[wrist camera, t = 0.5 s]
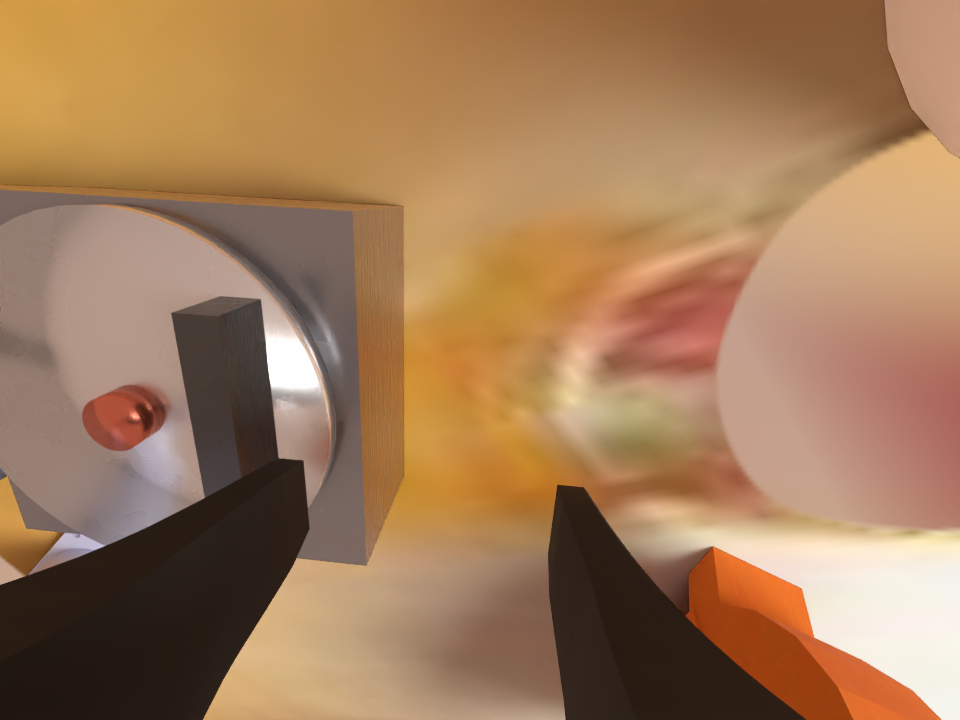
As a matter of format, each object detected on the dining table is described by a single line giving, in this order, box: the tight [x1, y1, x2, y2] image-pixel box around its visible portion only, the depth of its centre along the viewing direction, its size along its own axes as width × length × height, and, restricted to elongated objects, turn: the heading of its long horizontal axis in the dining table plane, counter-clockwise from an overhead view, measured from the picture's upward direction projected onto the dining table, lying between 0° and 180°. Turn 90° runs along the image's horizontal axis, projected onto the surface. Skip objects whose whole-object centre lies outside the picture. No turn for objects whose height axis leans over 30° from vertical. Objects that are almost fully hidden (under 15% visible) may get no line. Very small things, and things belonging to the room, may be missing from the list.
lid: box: [0, 204, 337, 546], centre depth 14 cm, size 13×13×3 cm
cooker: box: [0, 185, 404, 566], centre depth 18 cm, size 27×13×8 cm, turn 87°
